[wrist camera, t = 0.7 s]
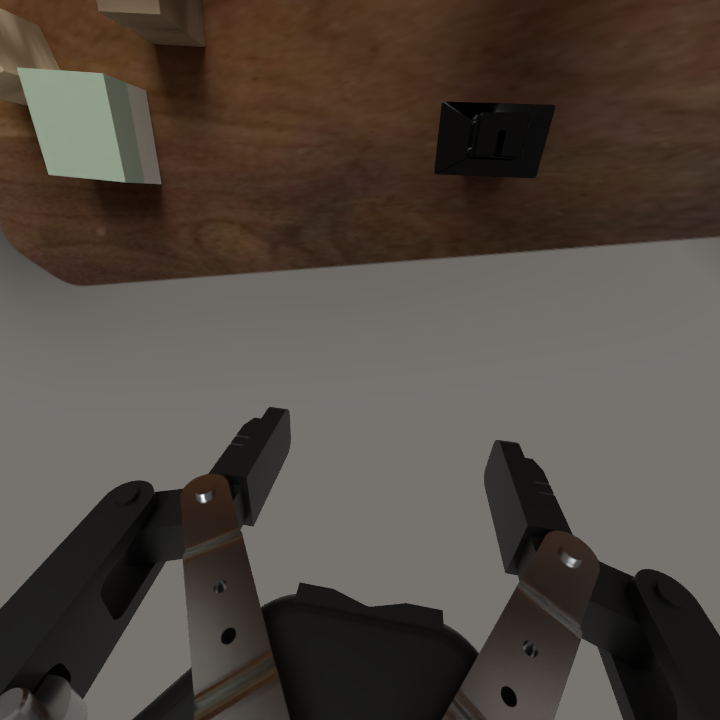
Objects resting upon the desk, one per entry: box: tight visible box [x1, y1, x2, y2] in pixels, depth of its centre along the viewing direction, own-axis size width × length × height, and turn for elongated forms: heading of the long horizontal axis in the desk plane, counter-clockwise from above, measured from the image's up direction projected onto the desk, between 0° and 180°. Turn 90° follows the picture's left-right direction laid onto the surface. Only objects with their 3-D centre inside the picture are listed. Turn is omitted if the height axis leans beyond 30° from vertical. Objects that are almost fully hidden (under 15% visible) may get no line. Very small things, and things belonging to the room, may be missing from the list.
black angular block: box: [435, 102, 555, 178], centre depth 28 cm, size 12×7×5 cm, turn 87°
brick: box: [0, 8, 60, 106], centre depth 30 cm, size 5×5×6 cm
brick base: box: [17, 67, 161, 184], centre depth 32 cm, size 8×8×5 cm
